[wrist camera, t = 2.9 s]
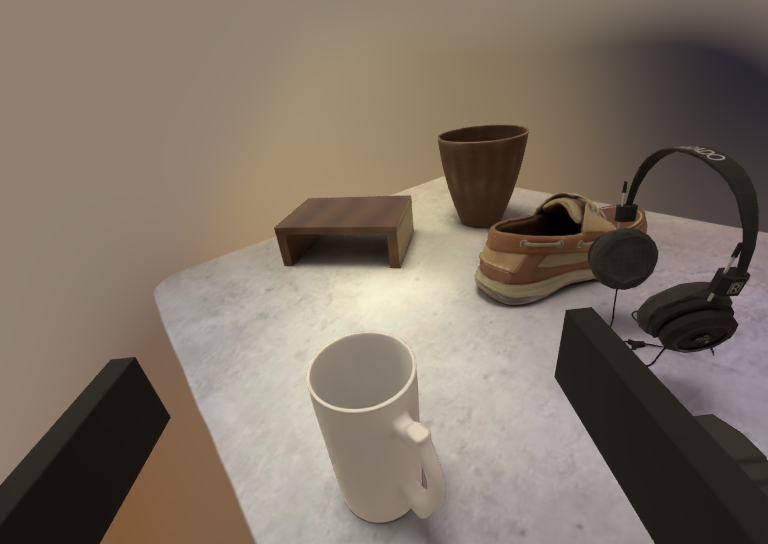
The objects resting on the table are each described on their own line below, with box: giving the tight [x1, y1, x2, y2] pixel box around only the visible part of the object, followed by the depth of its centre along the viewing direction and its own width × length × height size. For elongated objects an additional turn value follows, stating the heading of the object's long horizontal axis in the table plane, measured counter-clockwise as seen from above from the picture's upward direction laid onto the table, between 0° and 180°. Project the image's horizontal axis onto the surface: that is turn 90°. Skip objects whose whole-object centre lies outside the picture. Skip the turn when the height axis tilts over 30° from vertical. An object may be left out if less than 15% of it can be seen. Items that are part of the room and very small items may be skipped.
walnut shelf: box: [274, 196, 414, 268], centre depth 63 cm, size 20×14×7 cm
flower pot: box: [438, 125, 529, 228], centre depth 66 cm, size 15×15×16 cm
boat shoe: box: [475, 192, 647, 305], centre depth 49 cm, size 11×29×10 cm, turn 120°
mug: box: [306, 331, 446, 523], centre depth 24 cm, size 10×7×12 cm, turn 38°
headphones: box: [588, 146, 759, 367], centre depth 32 cm, size 15×11×20 cm
